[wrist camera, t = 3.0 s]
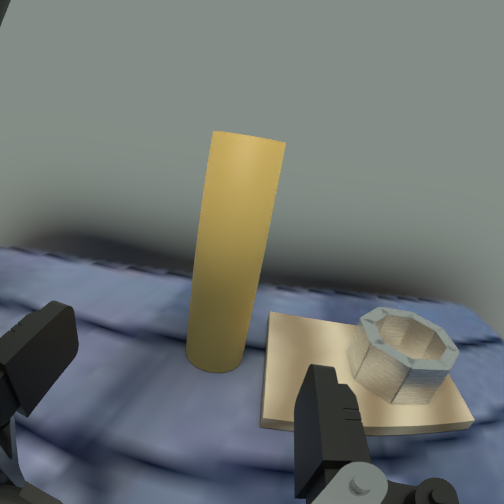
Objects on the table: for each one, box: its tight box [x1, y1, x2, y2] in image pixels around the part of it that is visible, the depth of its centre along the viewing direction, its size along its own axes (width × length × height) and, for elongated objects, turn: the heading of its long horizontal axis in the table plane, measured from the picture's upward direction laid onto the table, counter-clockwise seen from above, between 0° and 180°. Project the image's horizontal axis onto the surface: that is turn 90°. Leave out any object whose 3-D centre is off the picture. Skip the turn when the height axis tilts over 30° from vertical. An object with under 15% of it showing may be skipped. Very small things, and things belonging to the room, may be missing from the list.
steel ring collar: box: [346, 307, 459, 405], centre depth 22 cm, size 9×9×4 cm
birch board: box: [260, 311, 474, 435], centre depth 23 cm, size 17×13×1 cm
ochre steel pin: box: [186, 131, 286, 373], centre depth 20 cm, size 4×4×16 cm
